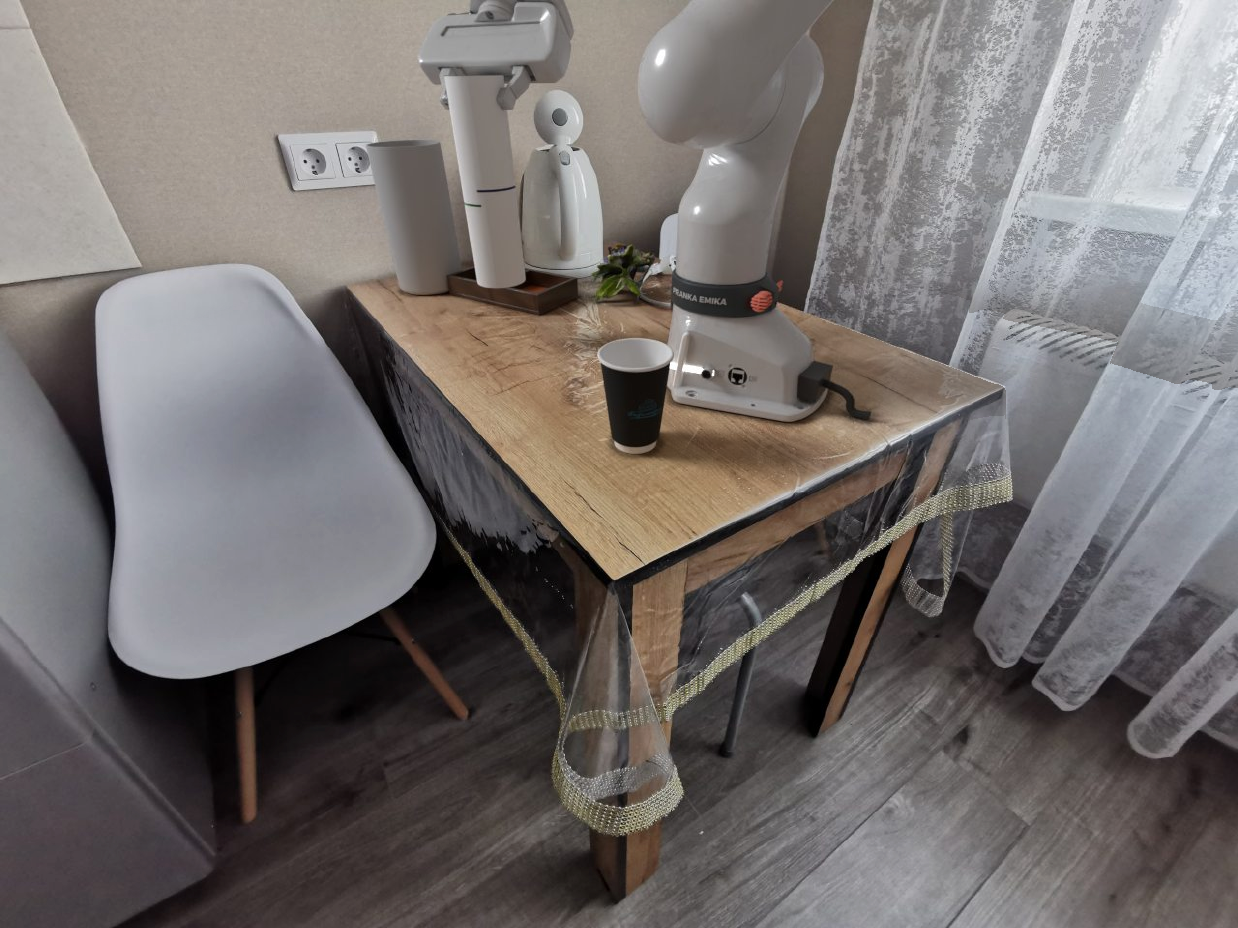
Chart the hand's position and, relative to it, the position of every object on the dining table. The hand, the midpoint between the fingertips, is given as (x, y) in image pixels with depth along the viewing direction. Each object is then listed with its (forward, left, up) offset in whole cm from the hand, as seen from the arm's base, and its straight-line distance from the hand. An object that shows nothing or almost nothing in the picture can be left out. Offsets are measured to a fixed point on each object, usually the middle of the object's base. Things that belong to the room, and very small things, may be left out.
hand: (475, 106), depth 70 cm
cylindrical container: (0, -1, -22) cm, 22 cm away
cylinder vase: (+33, -14, -32) cm, 48 cm away
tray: (+15, -18, -31) cm, 39 cm away
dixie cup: (-32, +14, -32) cm, 47 cm away
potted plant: (-4, -28, -32) cm, 42 cm away
